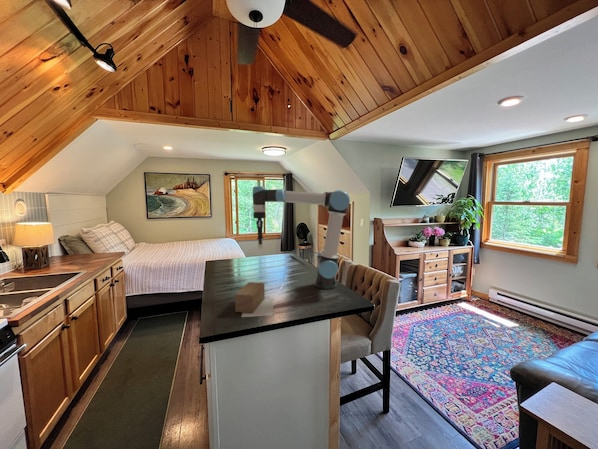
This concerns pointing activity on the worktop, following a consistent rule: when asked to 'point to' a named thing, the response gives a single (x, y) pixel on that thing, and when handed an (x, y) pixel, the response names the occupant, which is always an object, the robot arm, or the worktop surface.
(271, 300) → the mat
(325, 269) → the robot arm
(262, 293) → the wooden block
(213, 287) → the worktop surface
